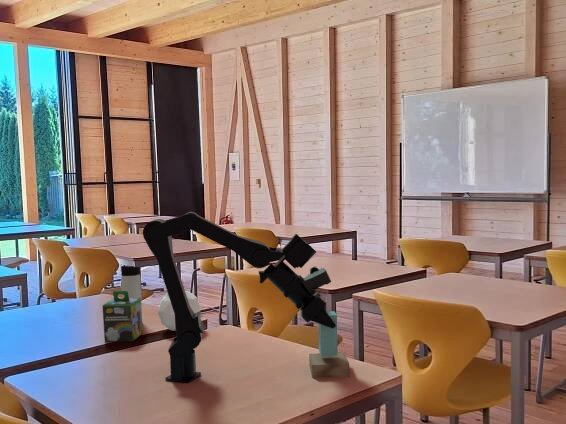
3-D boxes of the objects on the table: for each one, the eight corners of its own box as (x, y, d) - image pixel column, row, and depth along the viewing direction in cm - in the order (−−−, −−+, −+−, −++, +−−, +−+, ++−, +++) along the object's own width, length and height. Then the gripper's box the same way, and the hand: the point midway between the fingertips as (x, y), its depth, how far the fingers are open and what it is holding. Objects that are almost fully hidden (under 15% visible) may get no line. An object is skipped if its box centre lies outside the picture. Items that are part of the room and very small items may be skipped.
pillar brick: (321, 356, 144) (320, 315, 143) (318, 351, 148) (318, 311, 147) (337, 355, 144) (336, 315, 143) (334, 350, 148) (334, 311, 147)
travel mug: (118, 325, 196) (115, 265, 195) (132, 320, 202) (129, 262, 201) (132, 327, 193) (130, 266, 192) (146, 322, 199) (143, 263, 198)
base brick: (312, 379, 142) (311, 365, 141) (309, 367, 150) (309, 353, 150) (349, 378, 142) (349, 363, 142) (344, 366, 151) (344, 352, 151)
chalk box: (143, 333, 185) (141, 287, 184) (133, 342, 176) (131, 293, 175) (114, 333, 186) (112, 287, 185) (103, 342, 177) (101, 293, 176)
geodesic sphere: (169, 322, 175) (188, 281, 181) (139, 316, 184) (158, 277, 190) (197, 341, 185) (215, 302, 191) (168, 335, 193) (185, 298, 199)
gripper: (315, 263, 135) (363, 309, 136) (306, 253, 153) (348, 293, 155) (282, 299, 135) (330, 344, 136) (276, 284, 153) (319, 324, 155)
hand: (333, 324), depth 145 cm, fingers closed on pillar brick, 4 cm apart
